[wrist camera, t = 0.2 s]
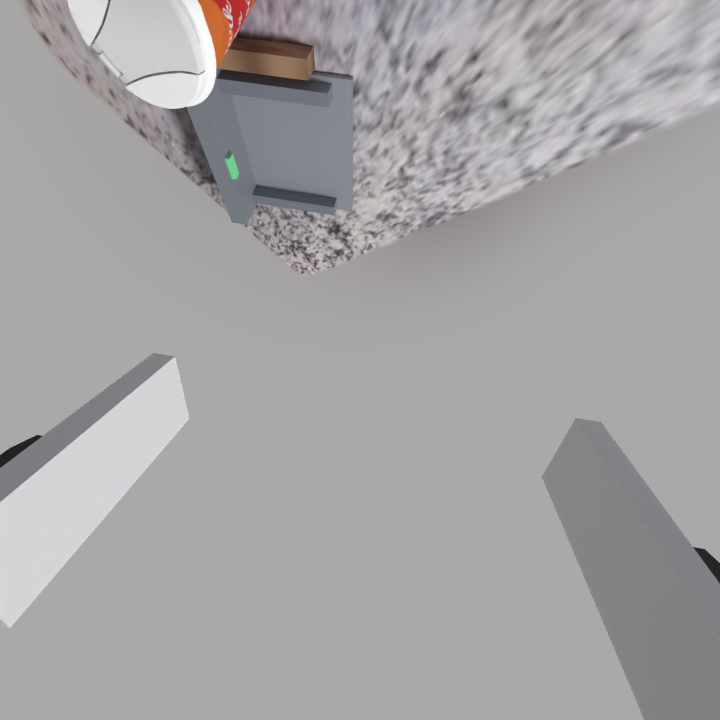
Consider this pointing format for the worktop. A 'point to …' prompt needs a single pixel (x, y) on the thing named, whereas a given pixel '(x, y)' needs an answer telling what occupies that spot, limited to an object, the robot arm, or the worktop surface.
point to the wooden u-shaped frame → (269, 58)
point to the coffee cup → (162, 43)
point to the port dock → (279, 141)
